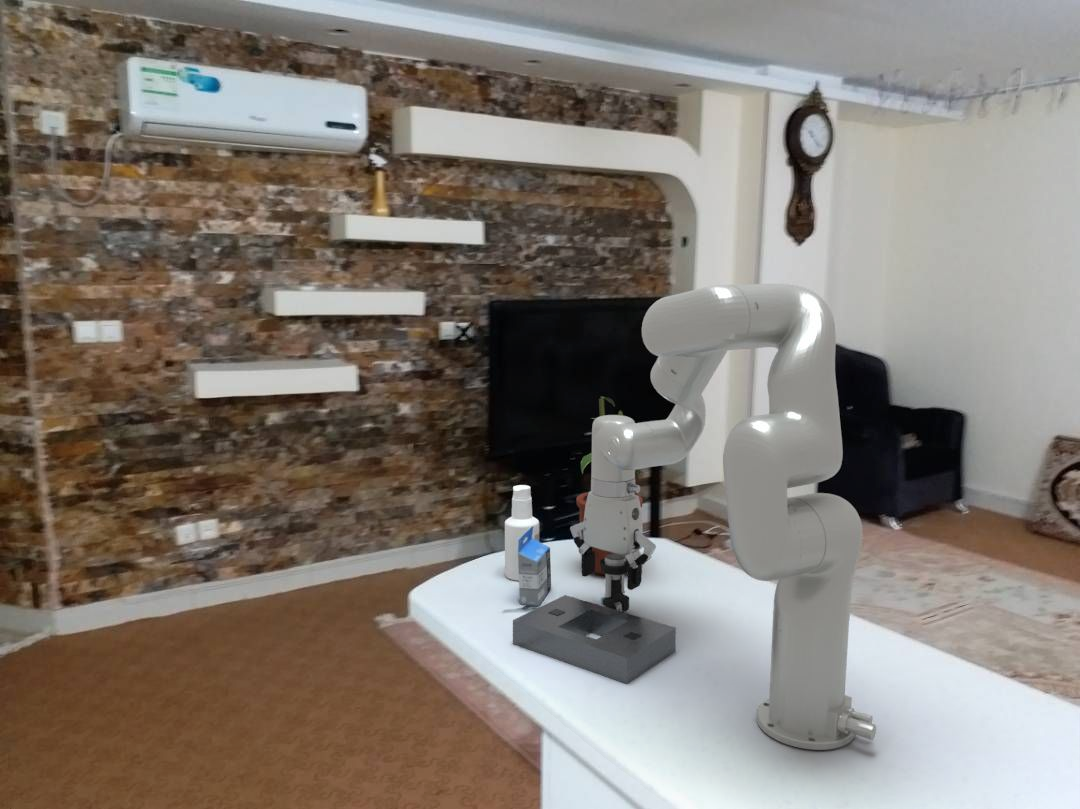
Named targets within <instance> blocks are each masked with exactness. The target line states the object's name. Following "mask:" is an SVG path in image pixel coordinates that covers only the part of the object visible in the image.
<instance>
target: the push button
mask: <svg viewBox="0 0 1080 809" xmlns="http://www.w3.org/2000/svg"><path fill="white" fill-rule="evenodd" d="M600 565H601V571H603V572H604V573H605V575H604V576H605V578H604V579H605V582H604V583H605V584H604V587H605V590H604V592H605V593H604V595H603V596H602V597H601V598H600V605H601V606H604V607H608V608H611V609H614V610H618V611H621V612H628V611H630V596H628V595H626V591H625V574H628V568H629V566H630V564H629V562H628V560H627V559H625V556H624V555H619V554H608V555H606V556H605V559H602V560H601V561H600ZM630 567H631V566H630Z"/></svg>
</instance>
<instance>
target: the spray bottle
mask: <svg viewBox="0 0 1080 809" xmlns="http://www.w3.org/2000/svg"><path fill="white" fill-rule="evenodd" d="M512 491H513V492H512V498H511V516H510V517H508V518H507V519H506V520H505V521H504V576H505V577H506V578H507V579H509V580H511V581H516V582H517V581H518V582H519V568H518V540H519V539H520V538H521V537H522V535H523V534H524V533H525V532H527V531H528V530H529V529H530V528H531V527H532V526H534V527H533V533H532V538H533V539H535V540H537V541H539V542H540V521H539V519H538V518H536V517H534V516H533V504H532V502H533V500H532V498H533V497H532V495H531V494H532V491H531V486H529V485H527V484H519V485H513V487H512ZM526 540H527V538H526V537H525V540H524V541H523V543H524V542H525V541H526Z"/></svg>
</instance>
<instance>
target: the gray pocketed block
mask: <svg viewBox="0 0 1080 809" xmlns="http://www.w3.org/2000/svg"><path fill="white" fill-rule="evenodd" d="M676 631H677V627H675V626H672V625H668V624H664V623H661V622H658V621H655V620H651V619H649V618H644V617H641V616H638V615H634V614H631V613H628V612H626V611H622V612H621V611H618V610H614V609H611V608H608V607H604V606H601V604H597V603H594V602H590V601H587V600H584V599H580V598H578V597H573V596H570V595H566V594H564V595H563V596H560V597H558V598H555V599H553V600H552V601H550V602H548V603H546V604H544V605H542V606H540V607H537V608H536V609H533V610H531V611H530V612H527V613H525V614H523V615H521V616H519V617H516V618H514V619H512V645H516V646H519V647H522V648H524V649H527V650H529V651H533V652H535V653H537V654H538V653H539V654H541V655H544V656H546V657H550V658H553V659H554V660H558V661H561V662H563V663H566V664H568V665H572V666H575V667H578V668H580V669H583V670H586V671H589V672H592V673H595V674H598V675H600V676H603V677H607V678H608V679H612V680H615V681H618V682H619V683H624V684H626V685H627V684H629V683H631V682H632V681H634V680H635V679H636V678H638V677H640V676H641V675H642V674H644V673H646V671H649V670H650V669H651V668H652V667H653V668H654V666H656V665H657V664H659V663H660V662H662V661H663V660H665V659H666V658H668V657H670V655H672V654H674V653H675V652H676V642H677V639H676V638H677V637H676V636H677V635H676V633H677V632H676ZM590 633H591V634H595V635H597V636H599V637H598V638H593V637H590V636H587V635H588V634H590Z"/></svg>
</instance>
